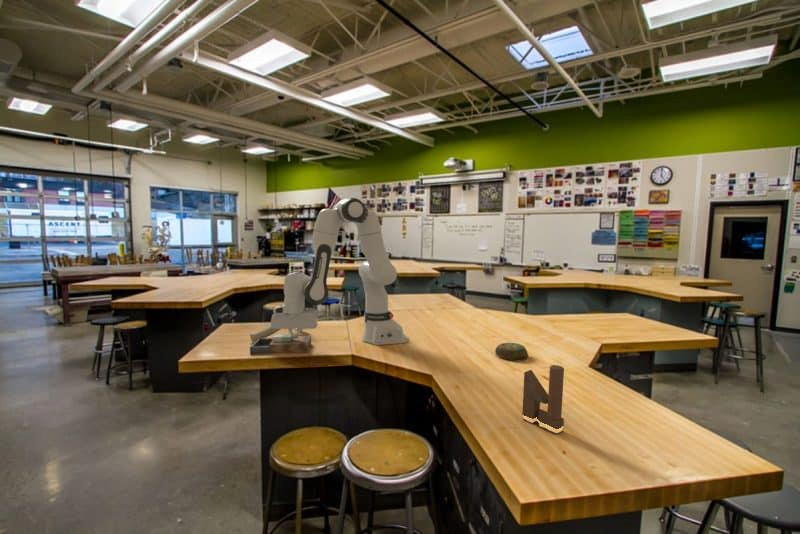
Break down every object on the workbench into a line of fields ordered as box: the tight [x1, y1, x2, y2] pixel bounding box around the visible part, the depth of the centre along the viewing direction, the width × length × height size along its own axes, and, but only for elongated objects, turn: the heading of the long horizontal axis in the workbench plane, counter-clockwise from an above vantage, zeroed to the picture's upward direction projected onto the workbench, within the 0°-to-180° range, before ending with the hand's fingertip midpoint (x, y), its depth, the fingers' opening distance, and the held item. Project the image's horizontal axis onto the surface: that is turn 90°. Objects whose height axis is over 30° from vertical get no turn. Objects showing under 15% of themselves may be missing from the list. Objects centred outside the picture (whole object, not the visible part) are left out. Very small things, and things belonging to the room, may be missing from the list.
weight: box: [494, 342, 529, 361], centre depth 163 cm, size 14×14×5 cm
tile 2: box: [281, 333, 292, 341], centre depth 169 cm, size 4×4×2 cm
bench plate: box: [268, 335, 312, 355], centre depth 169 cm, size 16×13×4 cm
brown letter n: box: [521, 364, 565, 429], centre depth 104 cm, size 4×11×18 cm, turn 39°
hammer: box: [249, 324, 303, 344], centre depth 188 cm, size 16×5×30 cm
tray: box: [249, 337, 272, 355], centre depth 168 cm, size 8×13×3 cm, turn 5°
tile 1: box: [271, 334, 284, 342], centre depth 168 cm, size 4×4×2 cm
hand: (294, 337), depth 169 cm, fingers closed
